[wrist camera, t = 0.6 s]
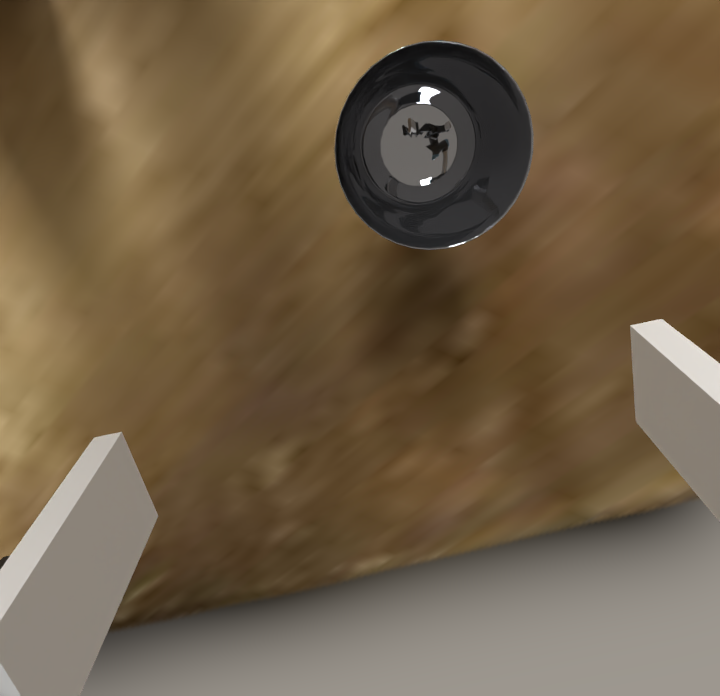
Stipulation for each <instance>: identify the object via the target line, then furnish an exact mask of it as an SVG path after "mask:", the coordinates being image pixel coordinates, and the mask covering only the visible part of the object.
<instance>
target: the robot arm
mask: <svg viewBox="0 0 720 696" xmlns="http://www.w3.org/2000/svg"><path fill="white" fill-rule="evenodd" d="M630 331H631V348H632V365H633V382H634V399H635V416H636V422H637V423H638V425H639V426H640V427H641V428H642V429H643V431H644V432H645V433H646V434H647V435H648V437H649V438H650V439H651V440H652V441H653V443H654V444H655V445H656V446H657V447H658V449H659V450H660V451H661V452H662V453H663V455H664V456H665V457H666V458H667V459H668V461H669V462H670V463H671V464H672V465H673V467H674V468H675V469H676V470H677V471H678V473H679V474H680V475H681V476H682V477H683V479H684V480H685V481H686V482H687V483H688V485H689V486H690V487H691V488H692V489H693V491H694V492H695V493H696V494H697V495H698V496H699V498H700V499H701V500H702V501H703V502H704V504H705V505H706V506H707V507H708V508H709V510H710V511H711V512H712V513H713V514H714V516H715V517H716V518H717V519H718V520H719V522H720V364H719V363H718V362H717V361H716V360H714V359H713V358H712V357H710V356H709V355H708V354H707V353H705V352H704V351H703V350H701V349H700V348H699V347H697V346H696V345H695V344H694V343H692V342H691V341H690V340H688V339H687V338H686V337H684V336H683V335H682V334H681V333H679V332H678V331H677V330H675V329H674V328H673V327H672V326H670V325H669V324H668V323H666V322H665V321H664V320H662V319H659V320H654V321H650V322H645V323H640V324H635V325H630ZM157 518H158V514H157V512H156V510H155V507H154V505H153V503H152V500H151V498H150V496H149V494H148V491H147V489H146V487H145V484H144V482H143V480H142V477H141V475H140V473H139V470H138V468H137V466H136V464H135V461H134V459H133V457H132V454H131V452H130V450H129V447H128V445H127V443H126V440H125V438H124V436H123V434H122V432H119V433H114V434H109V435H104V436H99V437H95V438H93V440H92V441H91V442H90V444H89V445H88V447H87V448H86V450H85V451H84V452H83V454H82V455H81V457H80V458H79V459H78V461H77V462H76V464H75V465H74V466H73V468H72V469H71V471H70V472H69V473H68V475H67V476H66V478H65V479H64V481H63V482H62V483H61V485H60V486H59V488H58V489H57V490H56V492H55V493H54V495H53V496H52V497H51V499H50V500H49V502H48V503H47V505H46V506H45V507H44V509H43V510H42V512H41V513H40V514H39V516H38V517H37V519H36V520H35V521H34V523H33V524H32V526H31V527H30V528H29V530H28V531H27V533H26V534H25V536H24V537H23V538H22V540H21V541H20V543H19V544H18V545H17V547H16V548H15V550H14V551H13V552H12V554H11V555H10V556H6V557H3V558H2V559H1V560H0V696H80V694H81V692H82V690H83V687H84V685H85V683H86V680H87V678H88V676H89V673H90V671H91V669H92V667H93V664H94V662H95V659H96V657H97V655H98V653H99V651H100V648H101V646H102V643H103V641H104V639H105V637H106V635H107V632H108V630H109V628H110V625H111V623H112V621H113V618H114V616H115V614H116V612H117V609H118V607H119V605H120V602H121V600H122V598H123V596H124V593H125V591H126V589H127V586H128V584H129V582H130V579H131V577H132V575H133V573H134V570H135V568H136V566H137V563H138V561H139V559H140V557H141V554H142V552H143V550H144V547H145V545H146V543H147V540H148V538H149V536H150V534H151V531H152V529H153V527H154V524H155V522H156V520H157Z"/></svg>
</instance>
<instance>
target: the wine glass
mask: <svg viewBox="0 0 720 696" xmlns="http://www.w3.org/2000/svg"><path fill="white" fill-rule="evenodd" d="M532 155H533V128H532V121H531V115H530V112H529V109H528V106H527V103H526V100H525V98H524V96H523V94H522V92H521V90H520V88H519V86H518V85H517V83H516V81H515V80H514V79H513V78H512V76H511V75H510V74H509V73H508V71H507V70H506V69H505V68H504V67H503V66H502V65H500V64H499V63H498V62H497V61H496V60H494V59H493V58H492V57H491V56H489V55H487V54H485V53H484V52H482V51H480V50H478V49H476V48H474V47H471V46H468V45H465V44H462V43H458V42H450V41H442V40H439V41H426V42H419V43H416V44H412V45H408V46H405V47H402V48H400V49H398V50H396V51H394V52H392V53H390V54H388V55H386V56H385V57H383V58H382V59H380V60H379V61H378V62H376V63H375V64H374V65H372V66H371V67H370V68H369V69H368V70H367V71H366V72H365V73H364V74H363V75H362V76H361V77H360V78H359V79H358V81H357V82H356V83H355V85H354V86H353V88H352V89H351V91H350V92H349V94H348V95H347V97H346V99H345V102H344V104H343V106H342V108H341V111H340V113H339V117H338V121H337V125H336V129H335V138H334V158H335V167H336V171H337V175H338V179H339V183H340V185H341V188H342V190H343V192H344V194H345V197H346V199H347V201H348V202H349V204H350V205H351V207H352V208H353V210H354V211H355V213H356V214H357V215H358V216H359V217H360V218H361V219H362V220H363V221H364V222H365V223H366V225H367V226H368V227H369V228H371V229H372V230H374V231H375V232H376V233H378V234H379V235H381V236H382V237H384V238H386V239H388V240H390V241H392V242H394V243H396V244H399V245H403V246H406V247H410V248H414V249H425V250H435V249H446V248H450V247H454V246H458V245H462V244H464V243H466V242H468V241H471V240H473V239H475V238H477V237H479V236H480V235H482V234H483V233H485V232H486V231H488V230H489V229H491V228H492V227H493V226H494V225H495V224H496V223H497V222H499V221H500V220H501V219H502V218H503V217H504V216H505V215H506V213H507V212H508V211H509V209H510V208H511V207H512V206H513V204H514V203H515V201H516V200H517V198H518V196H519V194H520V192H521V191H522V189H523V187H524V184H525V181H526V179H527V176H528V173H529V170H530V165H531V160H532Z"/></svg>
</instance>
